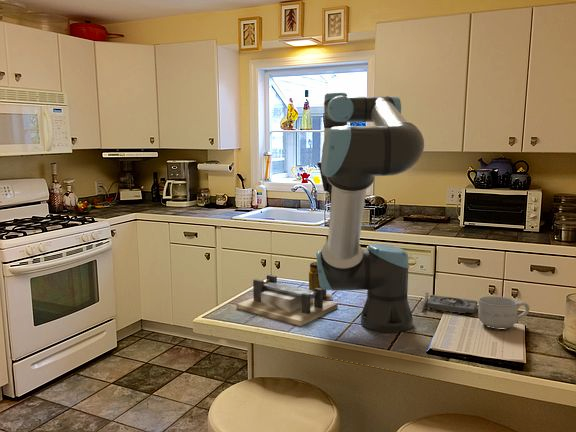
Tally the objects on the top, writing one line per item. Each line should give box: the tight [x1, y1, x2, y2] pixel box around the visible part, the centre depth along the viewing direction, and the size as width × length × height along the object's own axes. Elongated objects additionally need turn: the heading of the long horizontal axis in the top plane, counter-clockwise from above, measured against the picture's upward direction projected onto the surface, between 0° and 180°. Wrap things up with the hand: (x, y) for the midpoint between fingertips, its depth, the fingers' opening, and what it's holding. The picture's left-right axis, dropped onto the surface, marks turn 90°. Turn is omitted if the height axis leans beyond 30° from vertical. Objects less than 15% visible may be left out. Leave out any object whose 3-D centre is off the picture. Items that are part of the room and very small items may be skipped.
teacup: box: [477, 295, 530, 329], centre depth 148 cm, size 14×11×8 cm
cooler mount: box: [236, 274, 339, 327], centre depth 165 cm, size 26×20×8 cm
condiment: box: [308, 261, 333, 301], centre depth 176 cm, size 7×8×12 cm
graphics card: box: [420, 292, 478, 314], centre depth 163 cm, size 17×4×12 cm
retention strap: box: [263, 279, 319, 299], centre depth 164 cm, size 21×5×2 cm, turn 52°
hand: (335, 213), depth 170 cm, fingers closed
